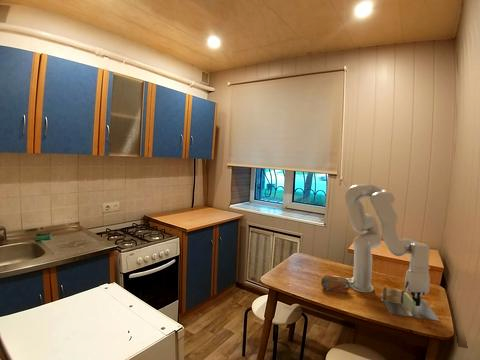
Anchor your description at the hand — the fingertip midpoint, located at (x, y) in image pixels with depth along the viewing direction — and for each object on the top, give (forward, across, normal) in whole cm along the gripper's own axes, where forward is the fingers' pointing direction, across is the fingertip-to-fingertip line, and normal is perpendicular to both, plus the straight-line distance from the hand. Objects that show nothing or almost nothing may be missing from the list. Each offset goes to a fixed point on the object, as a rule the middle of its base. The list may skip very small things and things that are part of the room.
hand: (415, 304), depth 132 cm
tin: (+4, +32, -21) cm, 38 cm away
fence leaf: (+3, +3, -1) cm, 4 cm away
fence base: (+4, +2, -4) cm, 6 cm away
